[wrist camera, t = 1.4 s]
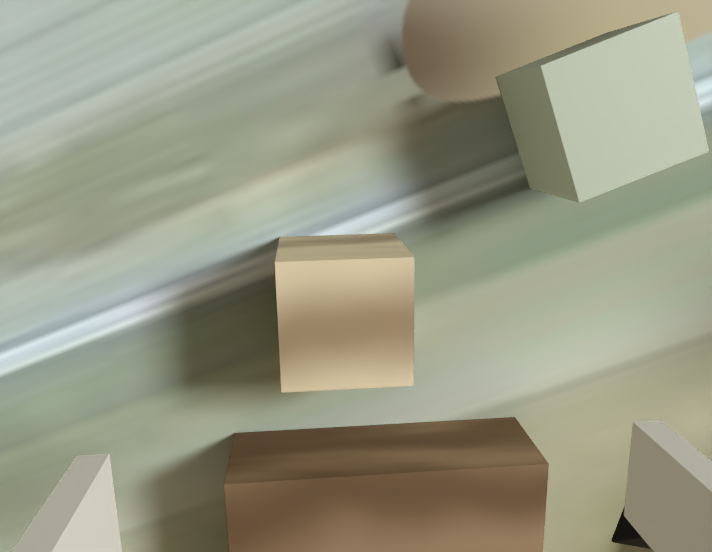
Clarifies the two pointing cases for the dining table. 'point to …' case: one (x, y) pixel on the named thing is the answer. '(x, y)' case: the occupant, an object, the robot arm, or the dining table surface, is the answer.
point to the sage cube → (605, 110)
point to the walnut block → (387, 489)
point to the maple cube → (345, 312)
